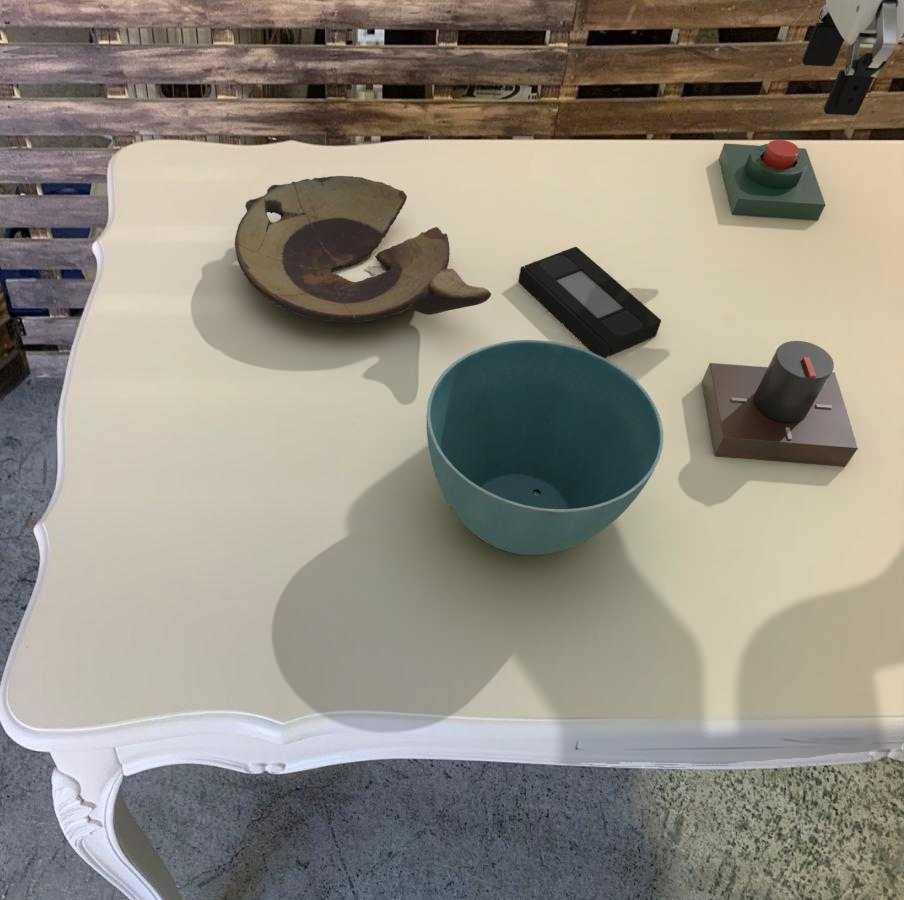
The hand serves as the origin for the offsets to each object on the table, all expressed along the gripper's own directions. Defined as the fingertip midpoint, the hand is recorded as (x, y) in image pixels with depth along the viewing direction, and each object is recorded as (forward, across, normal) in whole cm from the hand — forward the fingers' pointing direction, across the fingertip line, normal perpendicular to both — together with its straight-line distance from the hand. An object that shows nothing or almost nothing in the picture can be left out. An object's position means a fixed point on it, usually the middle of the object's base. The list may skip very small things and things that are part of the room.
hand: (827, 88), depth 91 cm
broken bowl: (+17, -15, +47) cm, 52 cm away
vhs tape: (+17, -16, +22) cm, 32 cm away
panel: (+17, -31, +6) cm, 36 cm away
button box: (+17, +9, -2) cm, 19 cm away
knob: (+14, -31, +6) cm, 35 cm away
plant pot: (+17, -45, +30) cm, 56 cm away
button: (+13, +9, -2) cm, 16 cm away
